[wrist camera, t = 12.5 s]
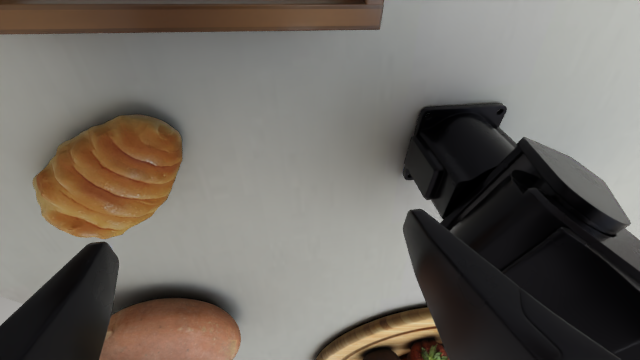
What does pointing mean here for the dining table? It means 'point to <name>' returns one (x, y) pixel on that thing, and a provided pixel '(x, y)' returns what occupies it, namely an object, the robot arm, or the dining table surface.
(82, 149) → the pastry
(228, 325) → the ceramic jug
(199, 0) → the wooden box
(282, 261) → the dining table surface
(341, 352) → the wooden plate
